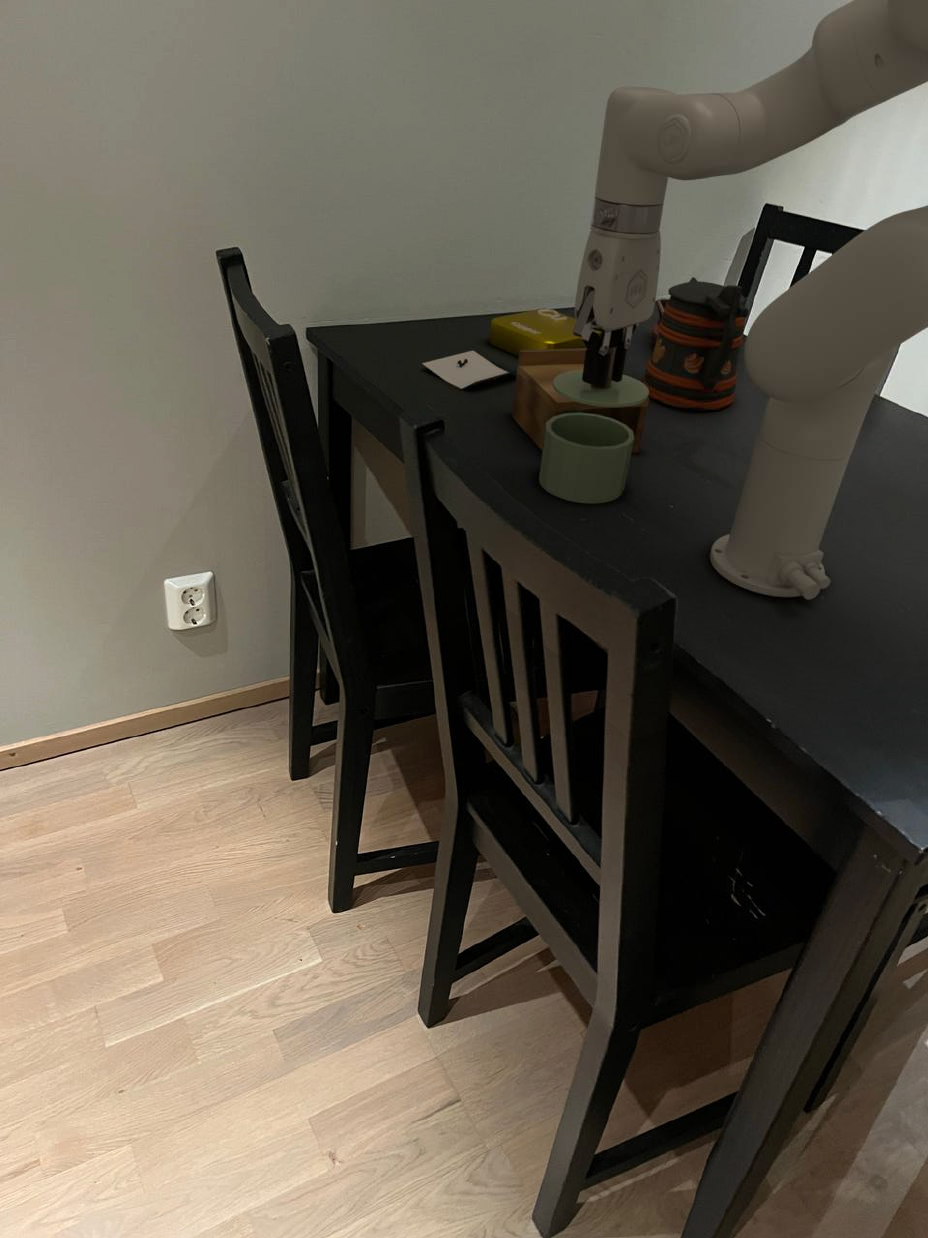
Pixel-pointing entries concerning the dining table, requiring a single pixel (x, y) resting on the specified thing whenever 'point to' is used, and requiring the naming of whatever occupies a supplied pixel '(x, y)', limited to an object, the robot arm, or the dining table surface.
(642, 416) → the shelf
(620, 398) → the lid
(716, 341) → the beer stein
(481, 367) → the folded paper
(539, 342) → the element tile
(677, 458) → the dining table surface
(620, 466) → the pot
